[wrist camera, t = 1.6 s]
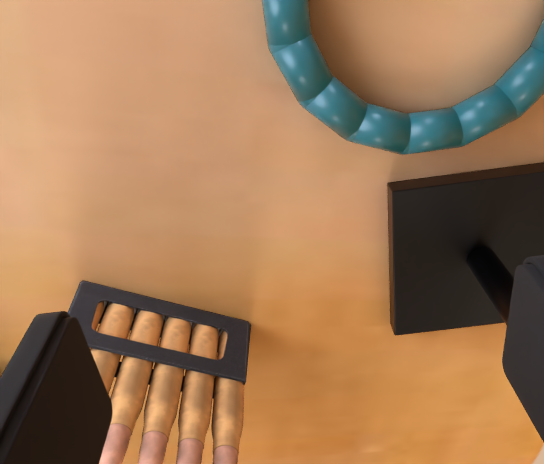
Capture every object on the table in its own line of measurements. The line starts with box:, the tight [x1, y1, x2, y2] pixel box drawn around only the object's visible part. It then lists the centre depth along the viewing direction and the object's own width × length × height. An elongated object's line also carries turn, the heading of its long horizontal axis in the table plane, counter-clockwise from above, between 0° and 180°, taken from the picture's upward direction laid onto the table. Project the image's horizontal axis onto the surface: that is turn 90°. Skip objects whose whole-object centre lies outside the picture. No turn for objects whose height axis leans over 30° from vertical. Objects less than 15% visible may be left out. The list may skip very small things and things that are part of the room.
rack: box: [387, 163, 544, 335], centre depth 26 cm, size 10×10×9 cm
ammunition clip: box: [68, 281, 251, 464], centre depth 27 cm, size 11×2×12 cm, turn 71°
